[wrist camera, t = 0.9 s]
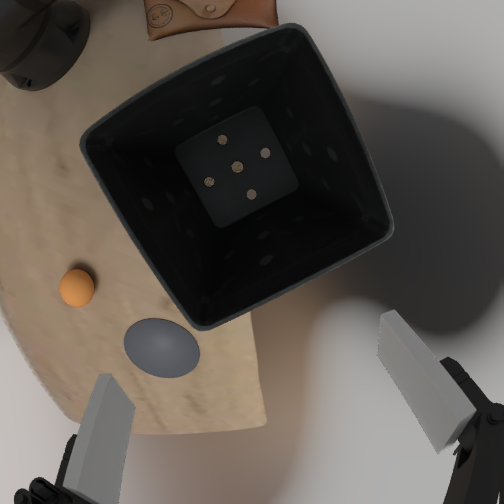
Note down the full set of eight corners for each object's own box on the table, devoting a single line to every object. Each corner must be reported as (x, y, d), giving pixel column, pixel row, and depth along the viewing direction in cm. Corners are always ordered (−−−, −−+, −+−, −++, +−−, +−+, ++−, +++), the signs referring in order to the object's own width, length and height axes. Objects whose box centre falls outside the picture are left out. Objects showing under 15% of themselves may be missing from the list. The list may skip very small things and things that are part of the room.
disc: (110, 343, 42) (110, 344, 42) (157, 303, 40) (157, 304, 40) (165, 386, 47) (165, 387, 47) (215, 354, 45) (215, 355, 45)
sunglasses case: (145, 45, 27) (133, 9, 21) (150, 20, 29) (141, -12, 22) (282, 30, 28) (288, -8, 22) (272, 7, 30) (276, -27, 23)
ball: (64, 277, 37) (48, 293, 32) (81, 256, 37) (64, 271, 31) (87, 301, 39) (74, 320, 34) (105, 282, 38) (92, 300, 33)
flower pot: (135, 140, 32) (71, 139, 16) (267, 70, 31) (300, 16, 15) (207, 261, 39) (198, 337, 23) (330, 197, 37) (397, 234, 22)
